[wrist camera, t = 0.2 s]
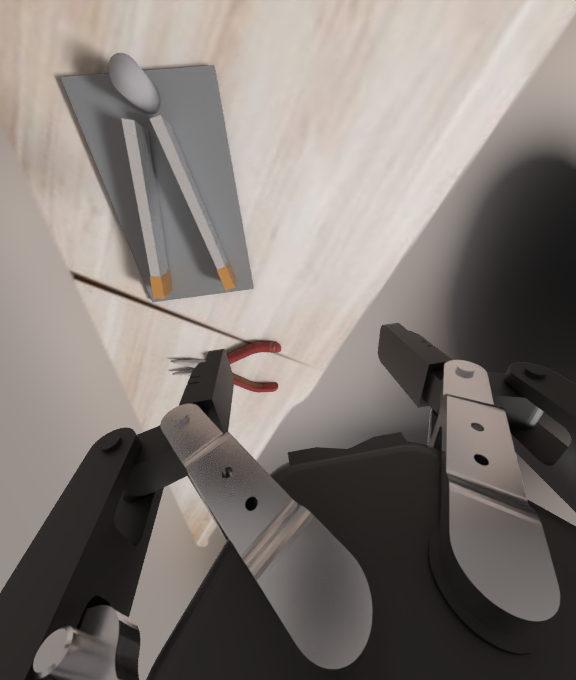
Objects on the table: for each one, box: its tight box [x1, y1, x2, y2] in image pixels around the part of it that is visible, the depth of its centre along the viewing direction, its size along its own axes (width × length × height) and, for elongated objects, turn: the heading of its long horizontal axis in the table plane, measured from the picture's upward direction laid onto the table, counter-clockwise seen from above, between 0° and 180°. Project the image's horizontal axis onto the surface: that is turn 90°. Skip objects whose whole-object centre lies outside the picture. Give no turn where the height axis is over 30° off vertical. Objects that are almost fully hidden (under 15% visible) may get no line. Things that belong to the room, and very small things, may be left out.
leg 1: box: [121, 118, 173, 299], centre depth 30 cm, size 19×1×4 cm, turn 175°
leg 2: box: [150, 115, 237, 290], centre depth 30 cm, size 19×1×4 cm, turn 17°
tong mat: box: [60, 53, 253, 302], centre depth 29 cm, size 25×16×6 cm, turn 6°
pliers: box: [171, 341, 281, 392], centre depth 45 cm, size 12×20×3 cm, turn 85°
